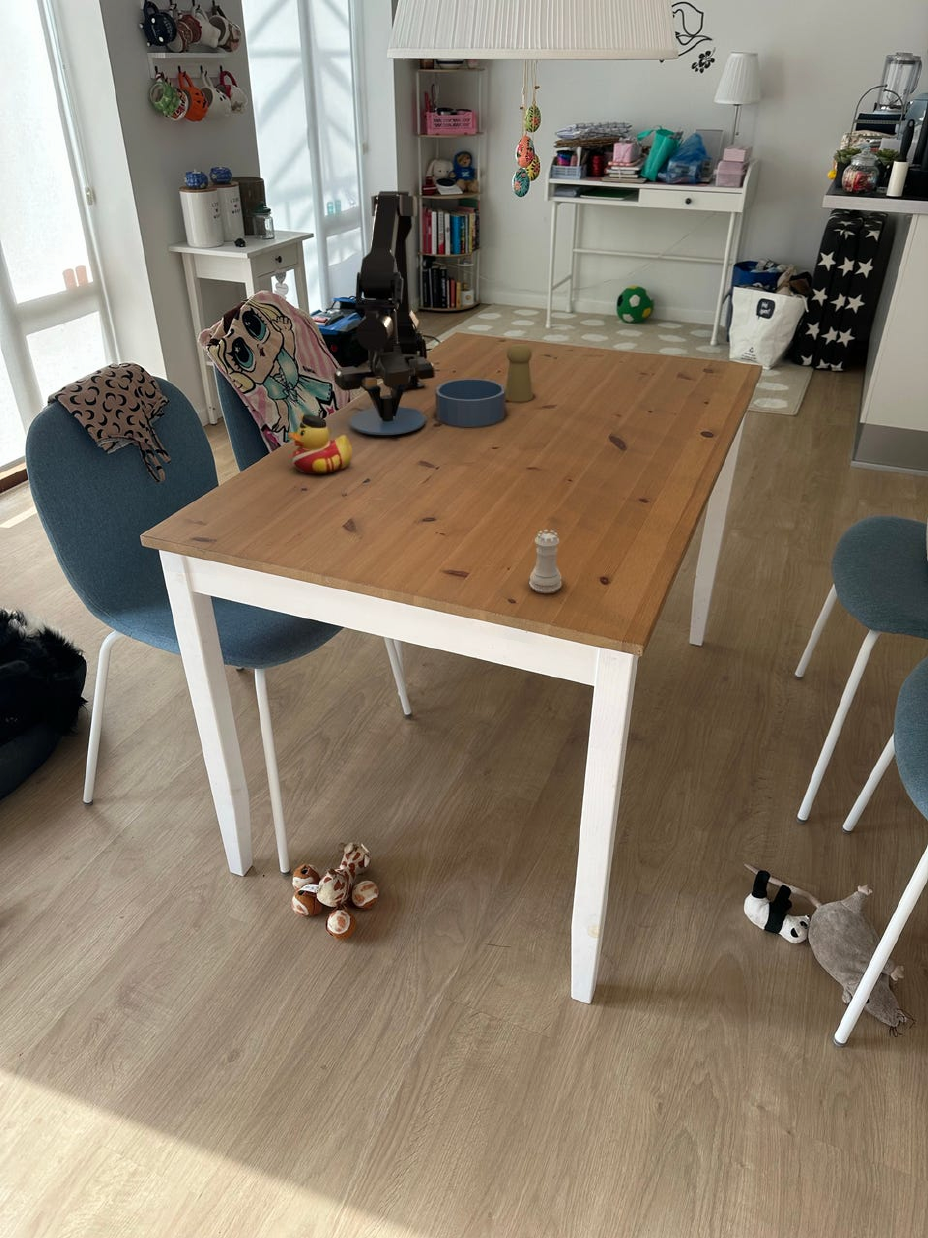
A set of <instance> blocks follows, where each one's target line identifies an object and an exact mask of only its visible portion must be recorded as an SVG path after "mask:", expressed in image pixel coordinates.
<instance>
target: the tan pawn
mask: <svg viewBox="0 0 928 1238" xmlns="http://www.w3.org/2000/svg"><path fill="white" fill-rule="evenodd" d="M506 351H507V352H506V357H507V360H508V361H509V363H508V369H507V378H506V384H505V400H507V401H509V402H516V403H518V402H519V403H522V402H528V401H531V400H532V399H533V397H534V396H533V387H532V385H533V384H532V377H531V368H530V361H531V359H532V356H533V351H532V348H531V347H530V346H529V345H528V344H524V343H523V344H521V343H518V344H512V345H510V346H509V347H508V348H507V350H506Z"/></svg>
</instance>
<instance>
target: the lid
mask: <svg viewBox="0 0 928 1238" xmlns="http://www.w3.org/2000/svg"><path fill="white" fill-rule="evenodd" d="M380 397H381V404H382V410H383V418H380V417H379V415H378V413H377V411H376V408H375V407H373V408H369V409H364V410H362V411H359V412H357V413H355V414H354V415H352V416H351V417H350V419H349V426H350V428H352V429H353V430H354V431H357V432H359V433H362V434H367V435H374V436H375V435H376V436H392V435H393V436H395V435H400V434H406V433H410V432H414V431H416V430H418V429H420V428H422V427H423V426H424V425H425V424H426V420H427V419H426V416H425V414H424V413H423V412H421V411H419V410H417V409H415V408H409V407H405V406H404V407H403V406H399V407H398V410H397V413H396V416H394V414H393V397H392V396H391V395H390V394H384V395H380Z"/></svg>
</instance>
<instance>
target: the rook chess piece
mask: <svg viewBox="0 0 928 1238" xmlns="http://www.w3.org/2000/svg"><path fill="white" fill-rule="evenodd" d="M534 542H535V544H536V545H537V548H536V550H535V551H536V553H537V557H536V558H537V559H536V563H535V567H534V568H533V570H532V571H531V573H530V576H529V583H528V584H529V587H530V588H531V589H532V590H533V591H535V592H537V593H538V594H552V593H556V592H557V591H558V590H559V589H560V588H561V587H562V586H563V583H562V580H563V579H562V574H561V572H560V570H559V568H558V567H557V559H556V557H557V553H558V549H557V546H558V544H560V539H559V537H558V533H557V532H555V530H552V529H550V531H549V532H548V529H543V531H542V530H540V531H538V533H537V536H536V538H535V539H534Z"/></svg>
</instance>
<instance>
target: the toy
mask: <svg viewBox="0 0 928 1238" xmlns="http://www.w3.org/2000/svg"><path fill="white" fill-rule="evenodd" d="M300 420H301V422H300V423H299V426H298V429H297V430H296V431H297V432H288V437H289V438H290V439H291V440H293V441H294V446H295V447H296V448H295V449H294V450H293V452H292V455H291V462H292V465H293V467H294V468H295V469H296V470H298V471H299V472H301V473H304V474H310V475H320V474H321V475H322V474H323V475H324V474H330V473H333V472H336V471H340V470H342V469H344V468H346V467H347V466H348V465H349V464H350V462H351V461H352V458H353V448H352V446H351V444H350V441H349V439H348V436H347V435H346V434H342V435H340V436H339V437H337V438H336V439H329V438H330V433H329V428H328V425H327V421H326V420H325V419H324V418H323V417H322V416H318V415H315V414H312V413H311V414H310V413H304V414H301V415H300Z"/></svg>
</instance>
